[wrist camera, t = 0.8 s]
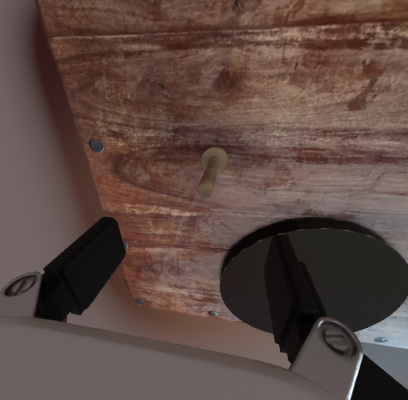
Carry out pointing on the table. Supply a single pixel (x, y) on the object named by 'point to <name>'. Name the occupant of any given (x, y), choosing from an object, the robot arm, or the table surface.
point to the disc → (320, 272)
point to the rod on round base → (211, 169)
